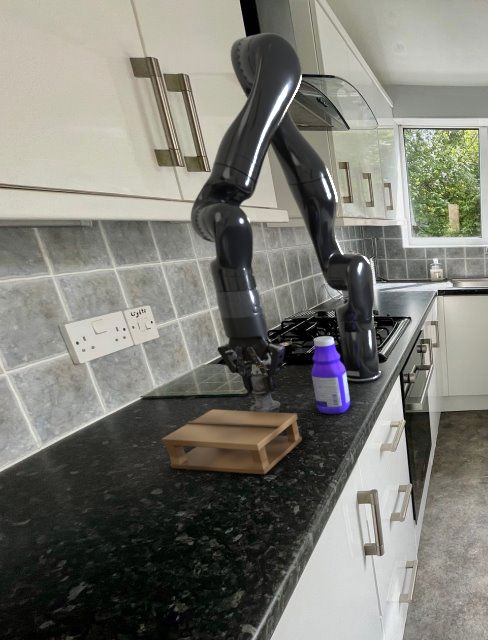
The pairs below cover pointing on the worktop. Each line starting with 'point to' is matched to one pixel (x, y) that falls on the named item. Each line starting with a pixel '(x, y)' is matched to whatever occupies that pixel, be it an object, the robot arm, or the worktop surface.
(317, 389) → the bottle
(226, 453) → the oak rack
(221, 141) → the robot arm
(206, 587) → the worktop surface
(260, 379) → the grey tall turned figure
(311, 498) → the worktop surface
